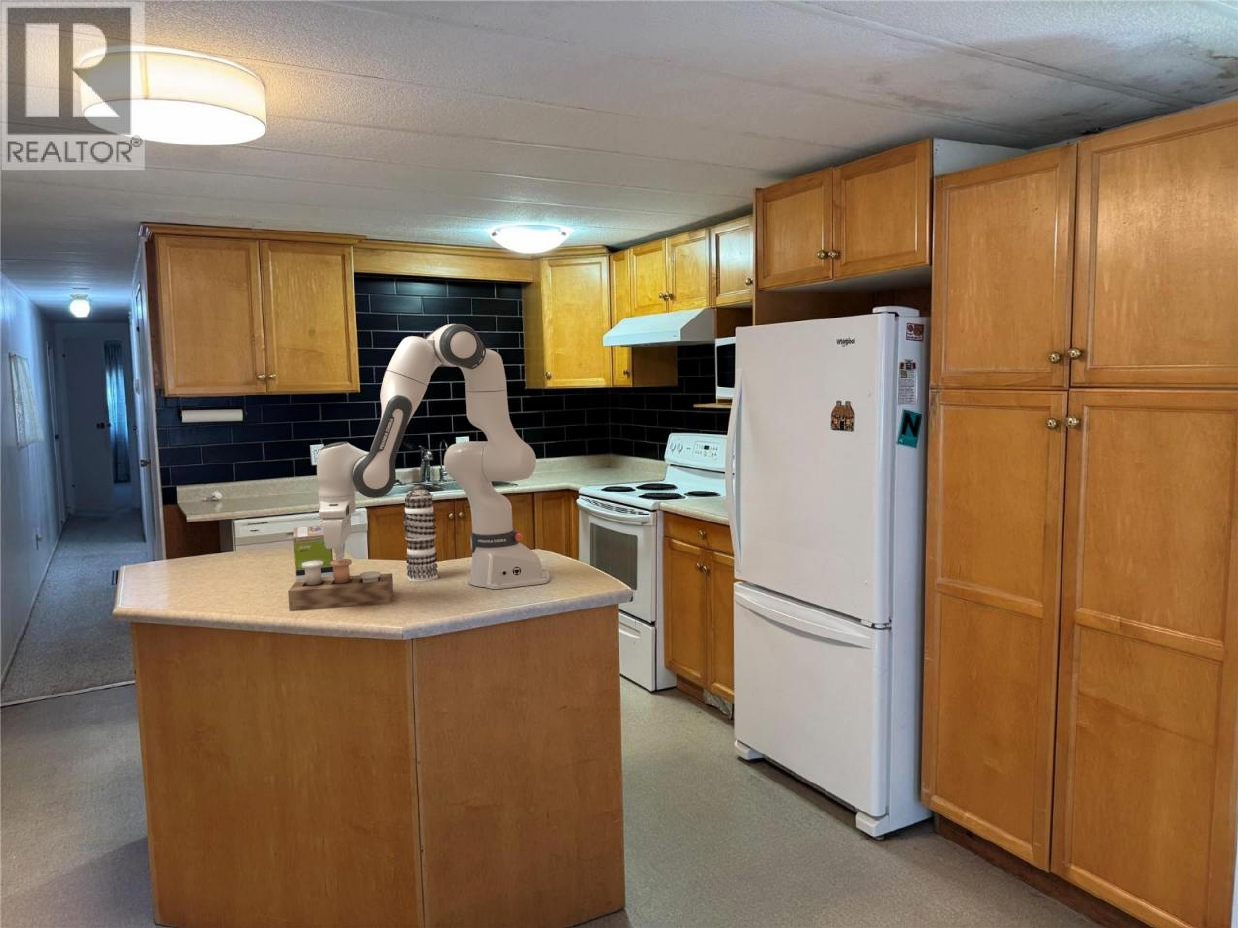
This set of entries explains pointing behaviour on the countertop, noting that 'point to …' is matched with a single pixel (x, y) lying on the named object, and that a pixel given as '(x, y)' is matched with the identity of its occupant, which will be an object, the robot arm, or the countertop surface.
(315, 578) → the grey plug
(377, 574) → the grey plug
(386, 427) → the robot arm
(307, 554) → the tea box
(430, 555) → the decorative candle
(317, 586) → the socket board
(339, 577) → the terracotta plug
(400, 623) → the countertop surface
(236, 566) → the countertop surface
